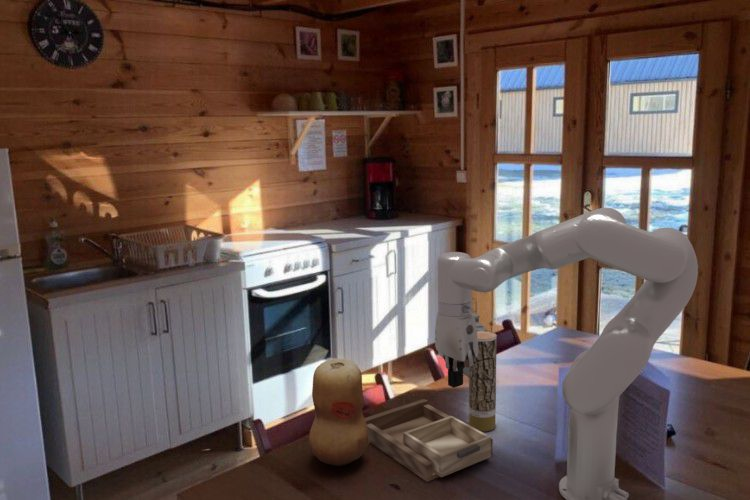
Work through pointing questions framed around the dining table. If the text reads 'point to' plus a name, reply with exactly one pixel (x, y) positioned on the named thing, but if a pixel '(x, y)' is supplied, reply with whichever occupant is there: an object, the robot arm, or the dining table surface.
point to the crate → (449, 444)
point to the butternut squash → (338, 413)
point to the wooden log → (483, 383)
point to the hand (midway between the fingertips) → (455, 385)
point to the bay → (390, 429)
